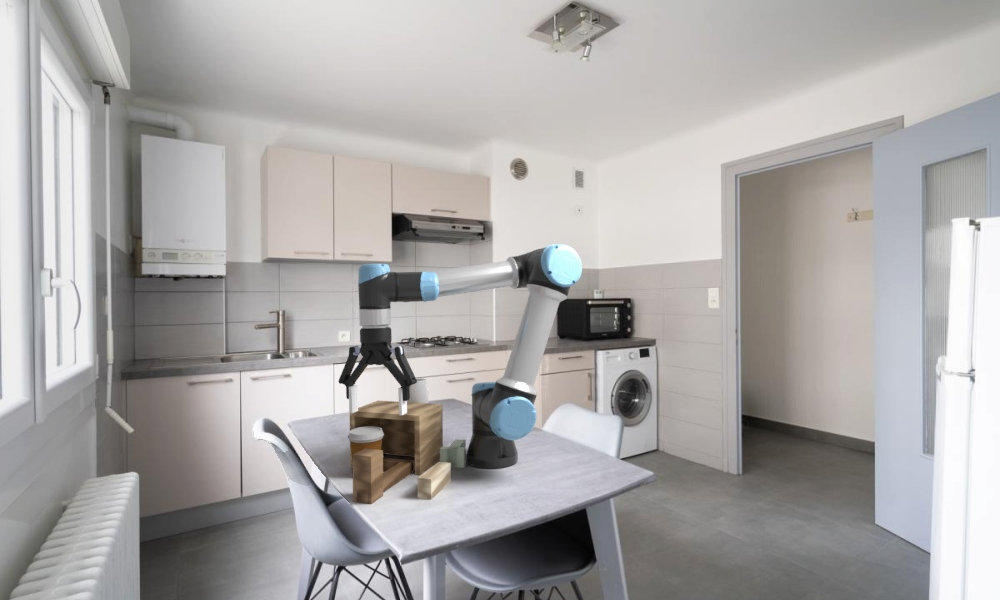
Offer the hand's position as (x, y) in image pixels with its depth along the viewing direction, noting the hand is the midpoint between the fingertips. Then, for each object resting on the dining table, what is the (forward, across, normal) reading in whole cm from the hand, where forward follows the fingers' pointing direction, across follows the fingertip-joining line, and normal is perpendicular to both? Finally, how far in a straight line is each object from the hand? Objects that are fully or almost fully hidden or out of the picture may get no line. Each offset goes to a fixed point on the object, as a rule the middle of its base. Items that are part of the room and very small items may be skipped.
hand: (378, 413), depth 119 cm
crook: (+19, +6, -5) cm, 21 cm away
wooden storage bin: (+20, +7, -21) cm, 30 cm away
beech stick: (+20, -12, -5) cm, 24 cm away
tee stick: (+20, -10, -27) cm, 35 cm away
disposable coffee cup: (+20, +10, -10) cm, 24 cm away
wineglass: (+20, +10, -41) cm, 47 cm away
